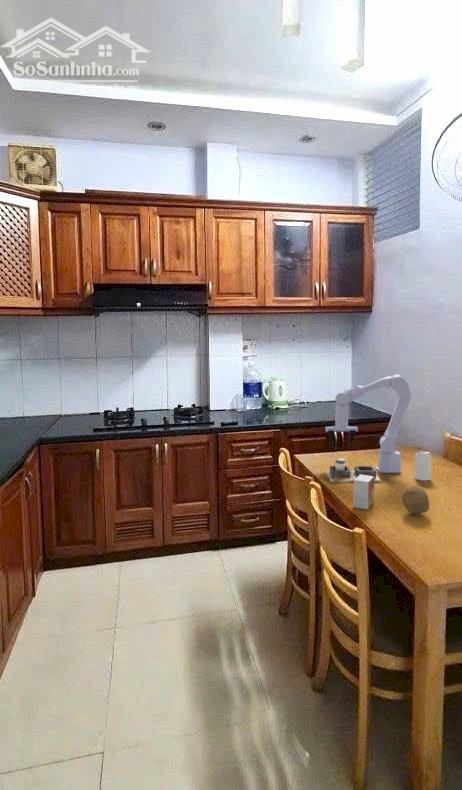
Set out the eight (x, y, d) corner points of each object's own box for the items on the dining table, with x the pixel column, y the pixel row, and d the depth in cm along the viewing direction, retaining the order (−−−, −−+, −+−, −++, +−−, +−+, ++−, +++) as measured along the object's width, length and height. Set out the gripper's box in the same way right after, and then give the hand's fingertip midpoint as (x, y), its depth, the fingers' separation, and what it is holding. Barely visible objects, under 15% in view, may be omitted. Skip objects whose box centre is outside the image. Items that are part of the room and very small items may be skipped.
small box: (367, 510, 170) (368, 482, 168) (352, 507, 173) (353, 479, 171) (374, 503, 177) (374, 476, 175) (359, 500, 180) (359, 473, 178)
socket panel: (372, 472, 214) (372, 463, 213) (380, 482, 200) (381, 473, 199) (325, 472, 215) (326, 464, 214) (330, 482, 201) (330, 473, 200)
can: (431, 481, 200) (433, 454, 198) (415, 480, 201) (416, 453, 199) (428, 476, 206) (429, 450, 204) (413, 476, 207) (414, 449, 206)
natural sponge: (400, 507, 172) (401, 481, 170) (427, 510, 169) (428, 483, 167) (401, 517, 163) (402, 489, 162) (429, 520, 160) (430, 492, 159)
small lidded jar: (343, 473, 209) (343, 457, 208) (345, 476, 205) (346, 460, 204) (334, 473, 209) (334, 457, 208) (336, 476, 205) (336, 460, 204)
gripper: (327, 419, 214) (326, 448, 216) (359, 419, 213) (358, 448, 215) (324, 416, 221) (324, 444, 223) (356, 416, 220) (355, 444, 222)
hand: (341, 446), depth 220 cm, fingers open, 7 cm apart
